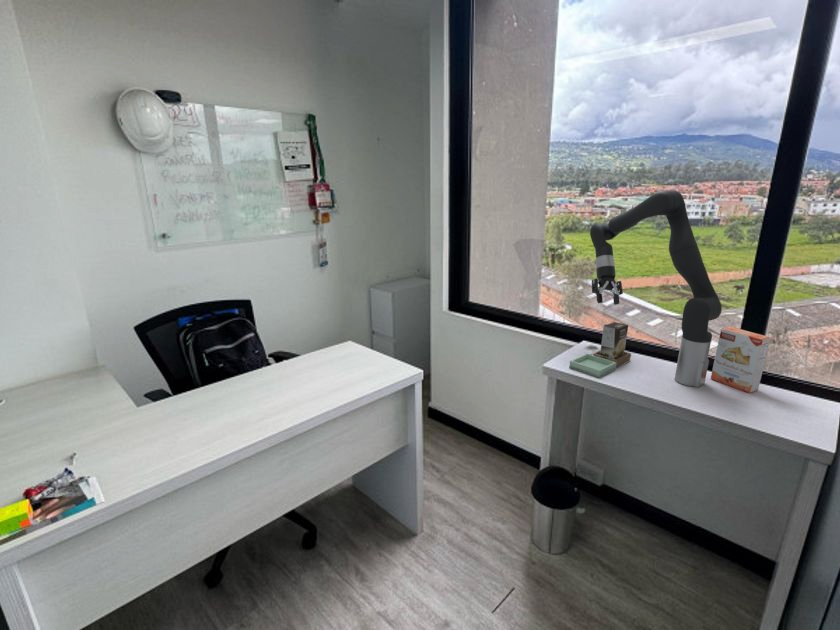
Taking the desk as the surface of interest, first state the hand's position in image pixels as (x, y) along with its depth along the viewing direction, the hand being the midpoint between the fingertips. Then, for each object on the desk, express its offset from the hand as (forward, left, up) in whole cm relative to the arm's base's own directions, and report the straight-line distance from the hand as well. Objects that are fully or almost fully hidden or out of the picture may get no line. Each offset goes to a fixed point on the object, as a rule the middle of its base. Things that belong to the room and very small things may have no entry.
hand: (608, 303), depth 189 cm
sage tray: (-6, +19, -23) cm, 30 cm away
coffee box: (-7, +6, -23) cm, 25 cm away
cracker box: (-48, -7, -23) cm, 54 cm away
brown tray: (-7, +6, -23) cm, 25 cm away
